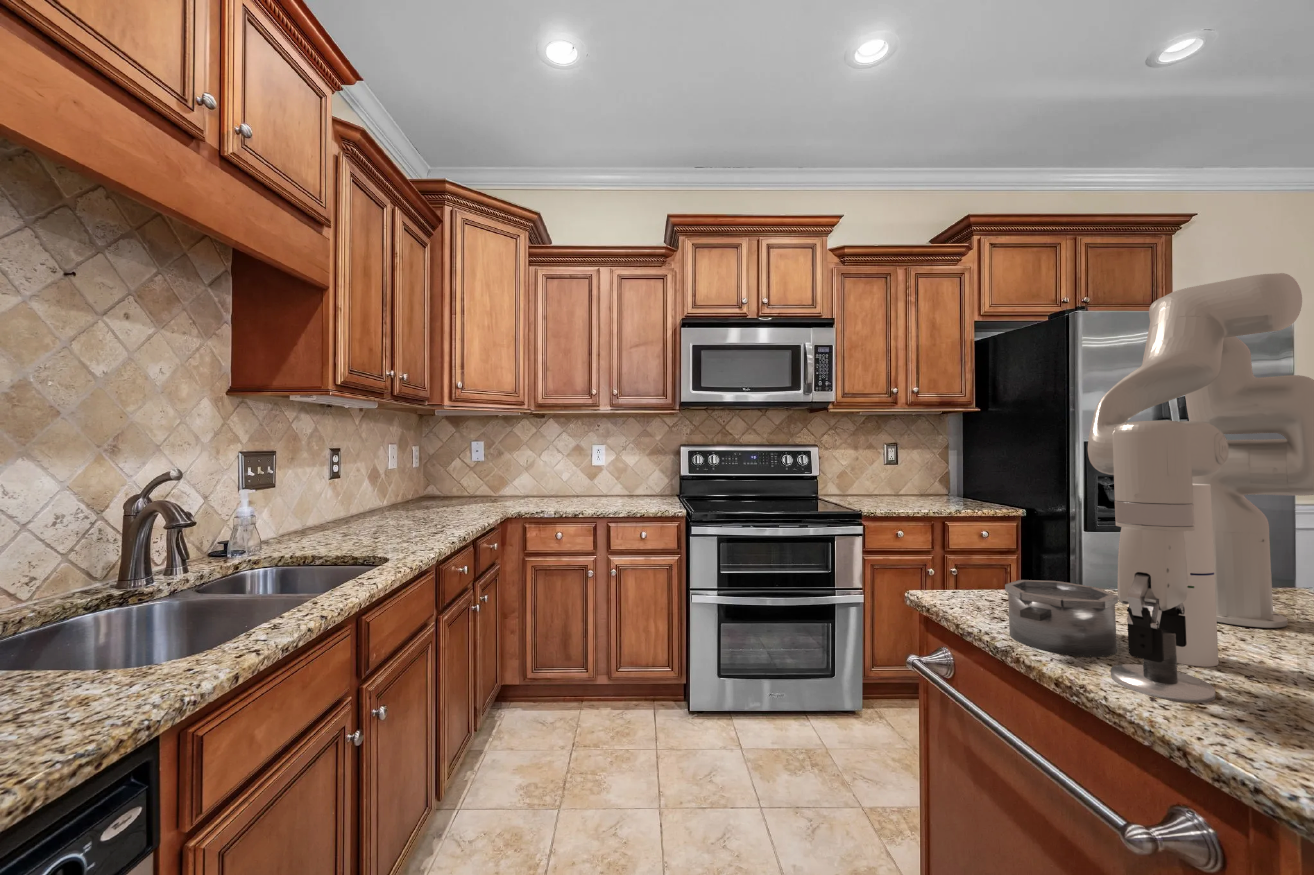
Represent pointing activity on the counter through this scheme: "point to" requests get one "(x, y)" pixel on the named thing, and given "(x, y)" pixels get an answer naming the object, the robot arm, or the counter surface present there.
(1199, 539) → the cylindrical container
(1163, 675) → the lid
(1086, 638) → the pot
